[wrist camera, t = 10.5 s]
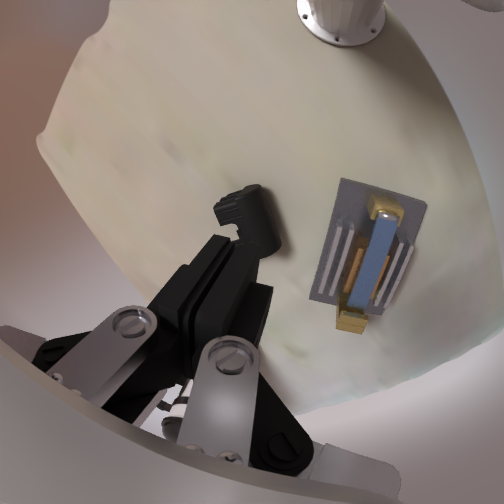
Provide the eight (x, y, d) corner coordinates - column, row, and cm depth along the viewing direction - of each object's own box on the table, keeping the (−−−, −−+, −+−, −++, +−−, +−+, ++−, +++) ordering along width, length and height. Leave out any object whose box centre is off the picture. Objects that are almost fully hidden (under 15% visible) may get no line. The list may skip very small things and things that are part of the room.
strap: (378, 209, 36) (380, 211, 35) (398, 215, 36) (400, 217, 35) (346, 302, 44) (346, 306, 43) (364, 306, 43) (364, 310, 42)
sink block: (340, 177, 41) (343, 195, 33) (424, 201, 39) (443, 224, 31) (309, 294, 52) (304, 328, 45) (380, 310, 50) (384, 345, 43)
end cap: (285, 235, 48) (278, 255, 43) (246, 245, 51) (235, 265, 45) (264, 179, 44) (254, 191, 39) (224, 192, 47) (209, 206, 41)
